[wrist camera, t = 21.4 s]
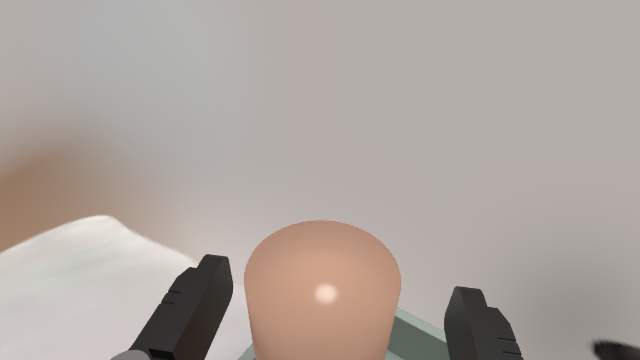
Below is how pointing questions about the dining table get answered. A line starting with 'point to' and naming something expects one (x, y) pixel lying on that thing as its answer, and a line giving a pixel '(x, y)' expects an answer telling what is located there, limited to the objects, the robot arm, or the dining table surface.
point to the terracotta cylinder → (321, 294)
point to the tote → (405, 340)
